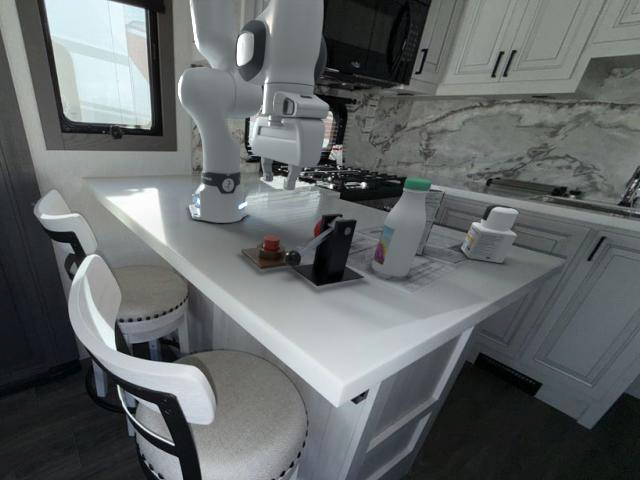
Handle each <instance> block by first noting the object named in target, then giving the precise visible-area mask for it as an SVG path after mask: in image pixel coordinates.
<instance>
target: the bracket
mask: <svg viewBox="0 0 640 480" xmlns="http://www.w3.org/2000/svg"><path fill="white" fill-rule="evenodd" d="M338 216H339V217H341V218H344V215H343V214H342V213H331V214H330V213H329V214H322V215H321V219H322V220H321V219H320V220H321V226H320V231H319V235H320V234H322V233H323V232H325V231H326V230H327V229H328V225H327V224H328V223H330V222H331V221H332V220H334V219H335V218H337V217H338ZM357 223H358V220H357V219H354V218H351V219H350V218H349V219H345V220H338V221H336V222H335V226H334V231H333V235H331V236H330V237H329V238H327V239H326V240H324V241H323V242H322V243H320V244H319V245H317V246H316V247H315V251H314V252H315V253H314V256H313V263H309V264H302V265H297V266H295V267H291V268H292V269H293V270H295V271H296V272H297V273H299V274H300V275H301V276H303V277H304V278H305V279H306V280H308V281H309V282H311V283H312V284H314V285H315V286H316V287H321V286H327V285H332V284H338V283H343V282H348V281H354V280H358V279H364V278H365V276H363V275H362V274H360V273H359V272H357V271H356V270H353V269H351V268H350V267H348V266H347V262H348V258H349V255H350V250H351V247H352V242H353V238H354V235H355V231H356V226H357Z"/></svg>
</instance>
